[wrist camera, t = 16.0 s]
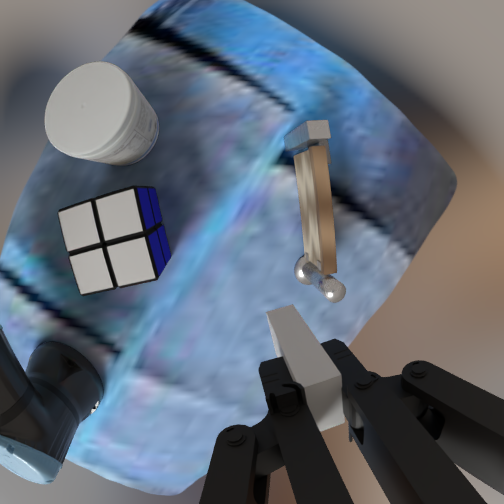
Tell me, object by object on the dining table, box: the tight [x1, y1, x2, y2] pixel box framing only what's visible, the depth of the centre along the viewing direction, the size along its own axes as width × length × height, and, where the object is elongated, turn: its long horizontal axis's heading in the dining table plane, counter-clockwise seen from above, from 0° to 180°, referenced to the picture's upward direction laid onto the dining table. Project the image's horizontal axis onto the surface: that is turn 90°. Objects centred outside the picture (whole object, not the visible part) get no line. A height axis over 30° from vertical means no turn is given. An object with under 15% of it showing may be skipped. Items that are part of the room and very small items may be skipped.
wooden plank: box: [294, 146, 337, 275], centre depth 35 cm, size 14×2×8 cm, turn 7°
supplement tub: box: [45, 62, 159, 166], centre depth 27 cm, size 10×10×15 cm
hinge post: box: [294, 255, 346, 303], centre depth 36 cm, size 4×4×10 cm
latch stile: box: [284, 120, 331, 164], centre depth 32 cm, size 3×5×10 cm
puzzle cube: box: [58, 186, 171, 296], centre depth 32 cm, size 10×10×10 cm
